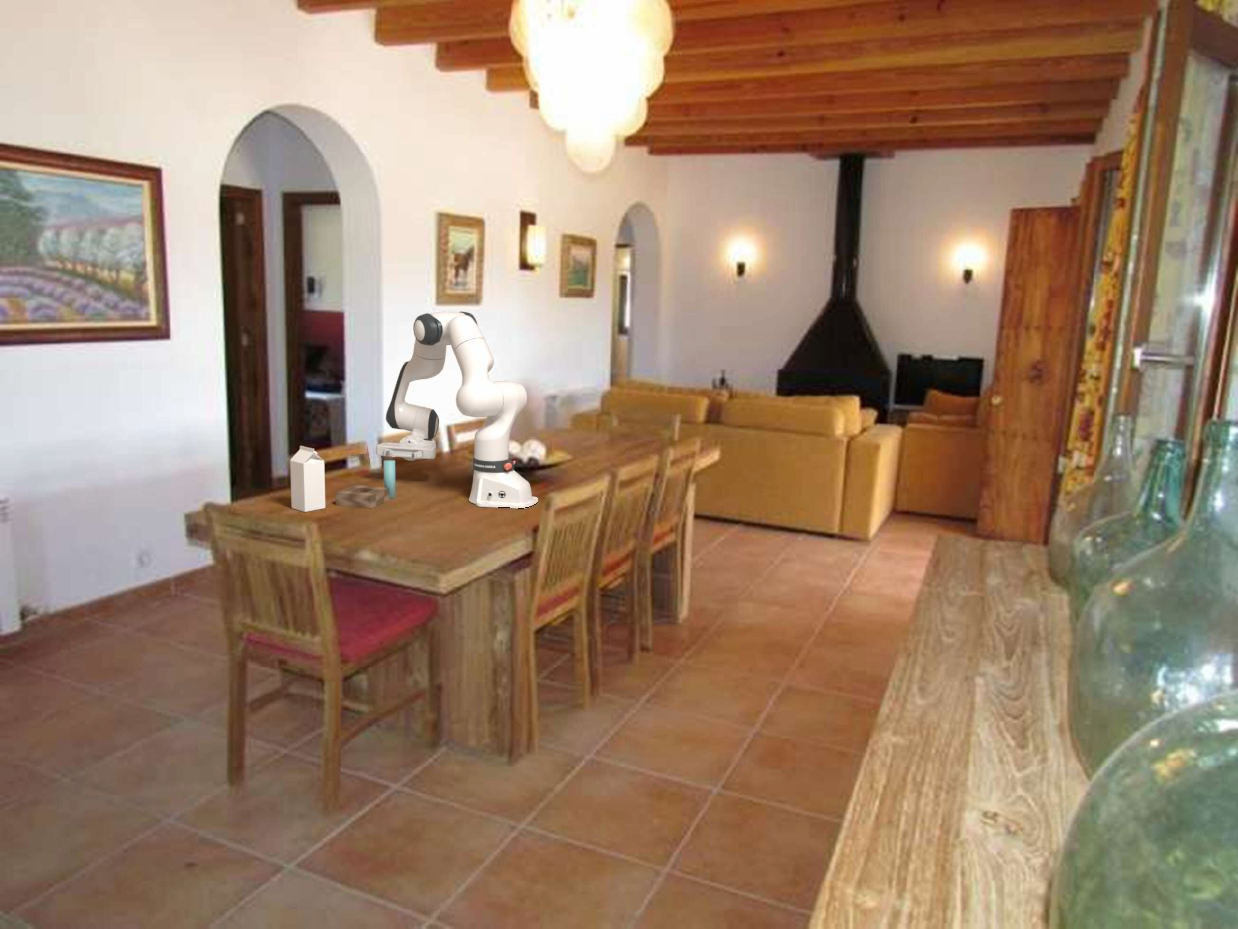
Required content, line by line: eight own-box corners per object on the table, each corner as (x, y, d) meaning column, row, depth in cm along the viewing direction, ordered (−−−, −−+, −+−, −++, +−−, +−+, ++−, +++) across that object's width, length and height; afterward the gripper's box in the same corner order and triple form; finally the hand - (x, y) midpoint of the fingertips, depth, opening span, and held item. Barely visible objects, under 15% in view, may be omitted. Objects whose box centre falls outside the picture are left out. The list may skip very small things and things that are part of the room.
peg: (397, 496, 286) (397, 460, 284) (392, 498, 283) (391, 462, 281) (387, 495, 287) (386, 459, 285) (381, 497, 284) (381, 461, 281)
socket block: (389, 500, 281) (389, 488, 280) (370, 508, 269) (370, 496, 269) (355, 496, 283) (355, 484, 283) (335, 504, 272) (335, 492, 271)
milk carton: (305, 512, 261) (303, 450, 258) (291, 508, 266) (289, 447, 262) (325, 508, 267) (324, 447, 263) (312, 504, 271) (310, 444, 268)
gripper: (382, 436, 308) (369, 443, 295) (439, 440, 307) (429, 447, 294) (382, 454, 310) (369, 462, 296) (439, 458, 309) (429, 466, 295)
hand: (399, 455), depth 295 cm, fingers open, 8 cm apart
